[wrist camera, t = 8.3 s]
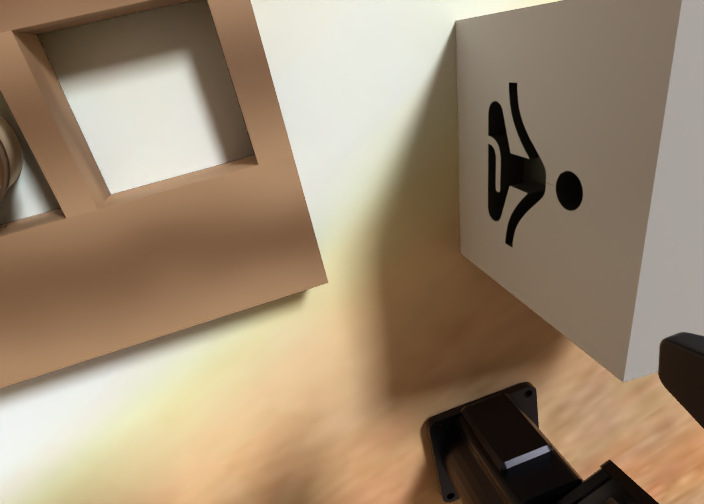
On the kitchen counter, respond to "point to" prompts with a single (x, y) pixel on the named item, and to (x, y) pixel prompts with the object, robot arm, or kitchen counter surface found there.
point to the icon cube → (588, 168)
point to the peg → (8, 157)
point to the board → (141, 211)
